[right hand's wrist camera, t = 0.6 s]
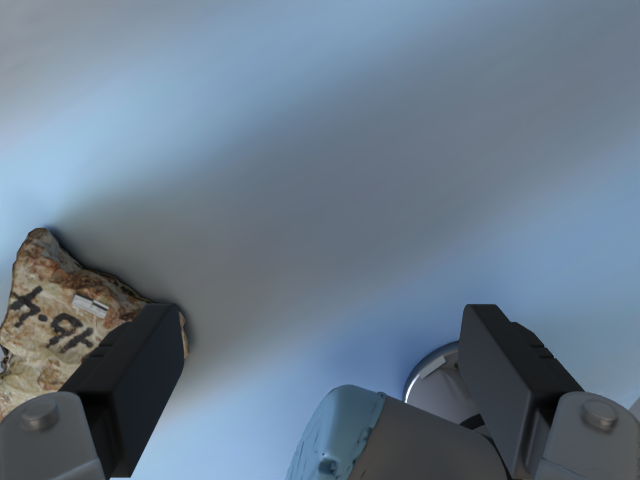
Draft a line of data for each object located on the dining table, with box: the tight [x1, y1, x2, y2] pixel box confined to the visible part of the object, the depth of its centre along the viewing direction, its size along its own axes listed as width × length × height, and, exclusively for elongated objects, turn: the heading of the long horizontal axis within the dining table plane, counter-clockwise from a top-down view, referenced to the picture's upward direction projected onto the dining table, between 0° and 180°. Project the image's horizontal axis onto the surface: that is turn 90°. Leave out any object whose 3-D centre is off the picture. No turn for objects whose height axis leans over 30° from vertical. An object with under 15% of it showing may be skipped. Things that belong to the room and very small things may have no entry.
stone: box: [0, 228, 190, 423], centre depth 43 cm, size 19×6×25 cm
